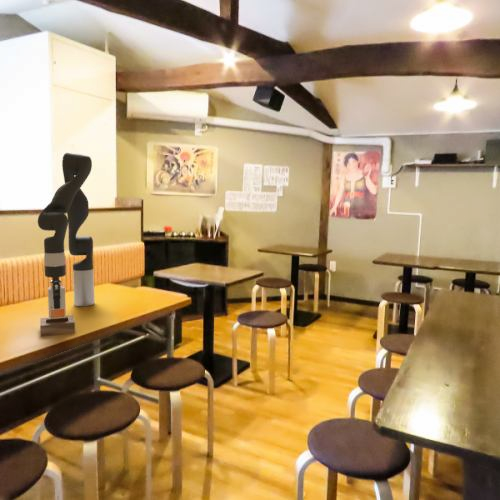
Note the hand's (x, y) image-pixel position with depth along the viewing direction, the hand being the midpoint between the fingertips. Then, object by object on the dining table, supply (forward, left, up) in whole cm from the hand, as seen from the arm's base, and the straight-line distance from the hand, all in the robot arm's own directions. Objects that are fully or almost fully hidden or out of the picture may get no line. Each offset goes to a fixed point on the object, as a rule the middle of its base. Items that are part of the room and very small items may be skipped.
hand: (56, 306), depth 170 cm
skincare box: (0, 0, -4) cm, 4 cm away
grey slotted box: (0, 0, -9) cm, 9 cm away
